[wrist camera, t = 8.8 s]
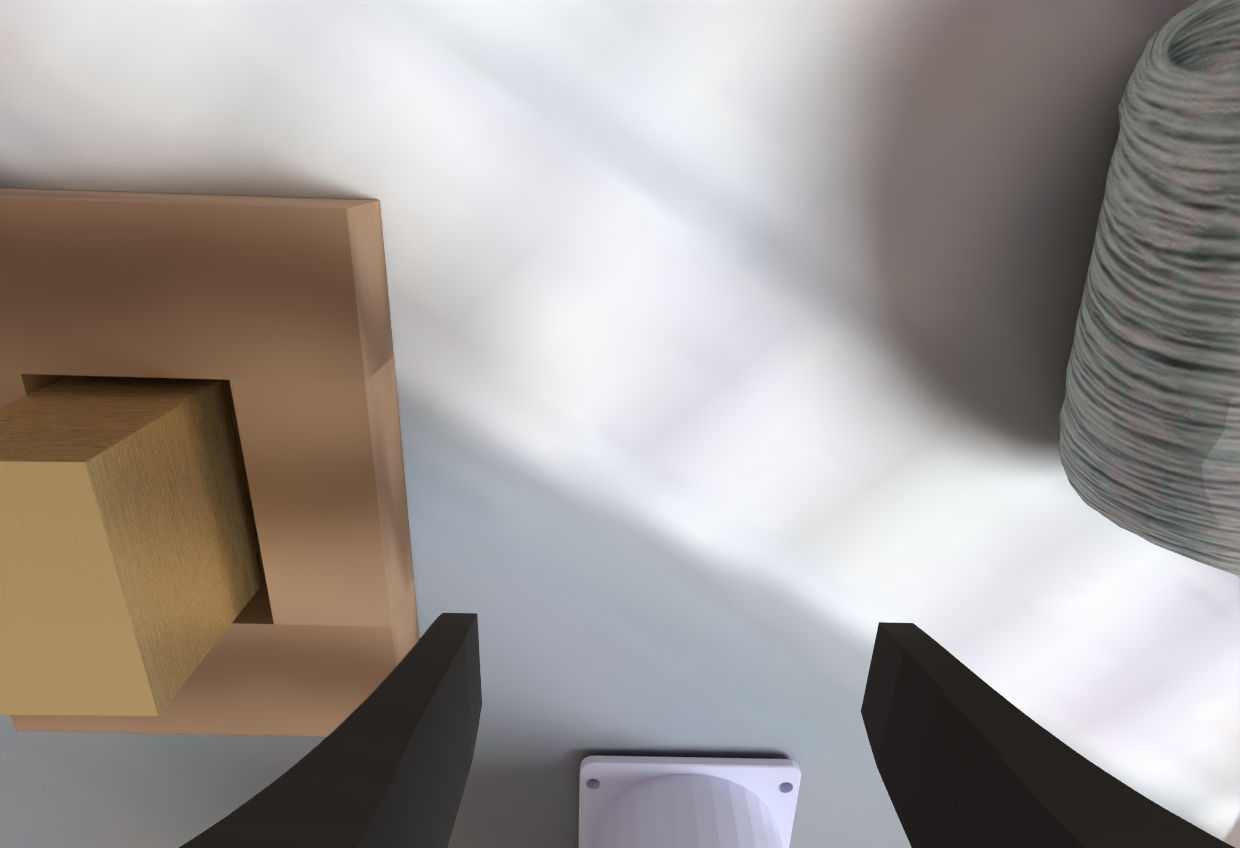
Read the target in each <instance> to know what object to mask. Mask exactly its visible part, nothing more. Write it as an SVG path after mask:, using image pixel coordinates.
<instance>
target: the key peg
mask: <svg viewBox="0 0 1240 848" xmlns="http://www.w3.org/2000/svg"><path fill="white" fill-rule="evenodd" d="M265 580H266V578H265V572H264V567H263V561H262V556H261V550H260V545H259V539H258V534H257V528H256V523H255V517H254V512H253V506H252V501H251V495H250V490H249V484H248V479H247V473H246V468H245V462H244V457H243V451H242V446H241V440H240V435H239V429H238V424H237V418H236V413H235V407H234V402H233V396H232V391H231V385H230V380H223V379H187V378H150V377H114V376H78V375H72V376H70V377H67V378H65V379H63V380H61V381H58V382H56V383H54V384H51V385H49V386H47V387H44V388H42V389H40V390H38V391H35V392H33V393H31V394H28V395H26V396H24V397H21V398H19V399H17V400H15V401H12V402H10V403H8V404H5V405H3V406H1V407H0V715H100V716H159V714H160V713H161V712H162V710H163V709H164V708H165V707H166V705H167V704H168V703H169V702H170V700H171V699H172V698H173V697H174V695H175V694H176V693H177V692H178V690H179V689H180V688H181V686H182V685H183V684H184V683H185V681H186V680H187V679H188V678H189V676H190V675H191V674H192V673H193V671H194V670H195V669H196V668H197V666H198V665H199V664H200V662H201V661H202V660H203V659H204V657H205V656H206V655H207V654H208V652H209V651H210V650H211V649H212V647H213V646H214V645H215V644H216V642H217V641H218V640H219V638H220V637H221V636H222V635H223V633H224V632H225V631H226V630H227V628H228V627H229V626H230V625H231V623H232V622H233V621H234V620H235V618H236V617H237V616H238V615H239V613H240V612H241V611H242V609H243V608H244V607H245V606H246V604H247V603H248V602H249V601H250V599H251V598H252V597H253V596H254V594H255V593H256V592H257V591H258V589H259V588H260V587H261V585H262V584H263V583H264V582H265Z"/></svg>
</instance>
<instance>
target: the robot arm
mask: <svg viewBox="0 0 1240 848" xmlns="http://www.w3.org/2000/svg"><path fill="white" fill-rule="evenodd" d="M481 706H482V697H481V677H480V658H479V639H478V620H477V614H471V613H442V614H441V615H440V616H439V617H438V618H437V619H436V620H435V621H434V622H433V624H432V625H431V626H430V627H429V628H428V630H427V631H426V632H425V633H424V635H423V636H422V637H421V638H420V639H419V641H418V642H417V643H416V644H415V645H414V647H413V648H412V649H411V650H410V651H409V652H408V654H407V655H406V656H405V657H404V658H403V659H402V660H401V662H400V663H399V664H398V665H397V666H396V667H395V668H394V669H393V670H392V672H391V673H390V674H389V675H388V676H387V677H386V678H385V679H384V680H383V681H382V682H381V684H380V685H379V686H378V687H377V688H376V689H375V690H374V691H373V692H372V693H371V694H370V695H369V696H368V697H367V699H366V700H365V701H364V702H362V703H361V704H360V705H359V706H358V707H357V708H356V709H355V710H354V711H353V712H352V713H351V714H350V715H349V716H348V717H347V718H346V719H345V720H344V721H343V722H342V723H341V724H340V725H339V726H338V727H337V728H336V729H335V730H334V731H333V732H332V733H331V734H330V735H329V736H327V737H326V738H325V739H324V740H323V741H322V742H321V743H320V744H319V745H318V746H316V747H315V748H314V749H313V750H312V751H311V752H310V753H308V754H307V755H306V756H305V757H304V758H302V759H301V760H300V761H299V762H298V763H297V764H295V765H294V766H293V767H292V768H291V769H289V770H288V771H287V772H286V773H284V774H283V775H282V776H281V777H279V778H278V779H277V780H276V781H274V782H273V783H272V784H270V785H269V786H268V787H266V788H265V789H264V790H262V791H261V792H260V793H258V794H257V795H255V796H254V797H253V798H251V799H250V800H249V801H247V802H246V803H244V804H243V805H242V806H240V807H239V808H238V809H236V810H235V811H234V812H232V813H231V814H229V815H228V816H227V817H225V818H224V819H222V820H221V821H219V822H218V823H216V824H215V825H213V826H212V827H210V828H209V829H207V830H206V831H204V832H203V833H201V834H200V835H198V836H197V837H195V838H194V839H192V840H190V841H189V842H187V843H186V844H184V845H182V846H181V847H179V848H447V845H448V842H449V839H450V835H451V832H452V828H453V825H454V822H455V818H456V815H457V811H458V808H459V805H460V801H461V798H462V794H463V791H464V787H465V784H466V780H467V777H468V773H469V770H470V766H471V763H472V759H473V753H474V748H475V742H476V736H477V731H478V725H479V718H480V712H481ZM861 713H862V717H863V720H864V724H865V728H866V731H867V735H868V739H869V742H870V745H871V749H872V752H873V755H874V758H875V762H876V765H877V768H878V770H879V773H880V775H881V777H882V780H883V782H884V785H885V787H886V789H887V792H888V794H889V796H890V799H891V801H892V803H893V806H894V808H895V810H896V813H897V815H898V817H899V819H900V822H901V824H902V826H903V828H904V831H905V833H906V835H907V838H908V840H909V842H910V844H911V847H912V848H1235V847H1233V846H1231V845H1229V844H1227V843H1225V842H1223V841H1221V840H1219V839H1218V838H1216V837H1214V836H1212V835H1210V834H1209V833H1207V832H1205V831H1203V830H1201V829H1200V828H1198V827H1196V826H1194V825H1193V824H1191V823H1189V822H1187V821H1186V820H1184V819H1182V818H1180V817H1179V816H1177V815H1175V814H1173V813H1171V812H1170V811H1168V810H1166V809H1164V808H1163V807H1161V806H1159V805H1158V804H1156V803H1154V802H1153V801H1151V800H1149V799H1148V798H1146V797H1144V796H1143V795H1141V794H1140V793H1138V792H1136V791H1135V790H1133V789H1132V788H1130V787H1129V786H1127V785H1125V784H1124V783H1122V782H1121V781H1119V780H1118V779H1116V778H1115V777H1113V776H1112V775H1110V774H1108V773H1107V772H1105V771H1104V770H1102V769H1101V768H1099V767H1098V766H1096V765H1095V764H1093V763H1092V762H1090V761H1089V760H1087V759H1086V758H1084V757H1083V756H1081V755H1080V754H1078V753H1077V752H1076V751H1074V750H1073V749H1071V748H1070V747H1069V746H1067V745H1066V744H1064V743H1063V742H1062V741H1060V740H1059V739H1058V738H1056V737H1055V736H1054V735H1052V734H1051V733H1049V732H1048V731H1047V730H1045V729H1044V728H1043V727H1041V726H1040V725H1039V724H1037V723H1036V722H1035V721H1033V720H1032V719H1031V718H1029V717H1028V716H1027V715H1025V714H1024V713H1023V712H1022V711H1020V710H1019V709H1018V708H1016V707H1015V706H1014V705H1013V704H1011V703H1010V702H1009V701H1008V700H1006V699H1005V698H1004V697H1003V696H1001V695H1000V694H999V693H998V692H996V691H995V690H994V689H993V688H991V687H990V686H989V685H988V684H986V683H985V682H984V681H983V680H982V679H980V678H979V677H978V676H977V675H976V674H974V673H973V672H972V671H971V670H970V669H968V668H967V667H966V666H965V665H964V664H962V663H961V662H960V661H959V660H958V659H956V658H955V657H954V656H953V655H952V654H950V653H949V652H948V651H947V650H946V649H944V648H943V647H942V646H941V645H940V644H938V643H937V642H936V641H935V640H934V639H932V638H931V637H930V636H929V635H927V634H926V633H925V632H924V631H922V630H921V629H920V628H918V627H917V626H916V625H915V624H913V623H880V622H879V625H878V630H877V635H876V640H875V645H874V650H873V655H872V660H871V665H870V670H869V674H868V679H867V684H866V689H865V694H864V699H863V704H862V709H861ZM590 779H597V780H594V781H593V780H590ZM800 779H801V773H800V769H799V766H798V764H797V763H796V762H795V761H793V760H789V759H755V758H700V757H646V756H588V757H586V758H584V759H583V760H582V761H581V764H580V785H579V848H789V843H790V837H791V832H792V826H793V820H794V814H795V808H796V802H797V796H798V790H799V784H800ZM785 782H787V783H785ZM782 783H785V784H782Z"/></svg>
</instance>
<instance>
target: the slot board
mask: <svg viewBox="0 0 1240 848" xmlns="http://www.w3.org/2000/svg"><path fill="white" fill-rule="evenodd" d="M72 375H78V376H114V377H150V378H187V379H223V380H230V385H231V391H232V396H233V402H234V407H235V413H236V418H237V424H238V429H239V435H240V440H241V446H242V451H243V457H244V462H245V468H246V473H247V479H248V484H249V490H250V495H251V501H252V506H253V512H254V517H255V523H256V528H257V534H258V539H259V545H260V550H261V556H262V561H263V567H264V572H265V578H266V580H265V582H264V583H263V584H262V585H261V587H260V588H259V589H258V591H257V592H256V593H255V594H254V596H253V597H252V598H251V599H250V601H249V602H248V603H247V604H246V606H245V607H244V608H243V609H242V611H241V612H240V613H239V615H238V616H237V617H236V618H235V620H234V621H233V622H232V623H231V625H230V626H229V627H228V628H227V630H226V631H225V632H224V633H223V635H222V636H221V637H220V638H219V640H218V641H217V642H216V644H215V645H214V646H213V647H212V649H211V650H210V651H209V652H208V654H207V655H206V656H205V657H204V659H203V660H202V661H201V662H200V664H199V665H198V666H197V668H196V669H195V670H194V671H193V673H192V674H191V675H190V676H189V678H188V679H187V680H186V681H185V683H184V684H183V685H182V686H181V688H180V689H179V690H178V692H177V693H176V694H175V695H174V697H173V698H172V699H171V700H170V702H169V703H168V704H167V705H166V707H165V708H164V709H163V710H162V712H161V713H160V714H159V716H100V715H11V718H12V721H13V723H14V726H15V729H16V731H67V732H120V733H174V734H227V735H280V736H329V735H330V734H331V733H332V732H333V731H334V730H335V729H336V728H337V727H338V726H339V725H340V724H341V723H342V722H343V721H344V720H345V719H346V718H347V717H348V716H349V715H350V714H351V713H352V712H353V711H354V710H355V709H356V708H357V707H358V706H359V705H360V704H361V703H362V702H364V701H365V700H366V699H367V697H368V696H369V695H370V694H371V693H372V692H373V691H374V690H375V689H376V688H377V687H378V686H379V685H380V684H381V682H382V681H383V680H384V679H385V678H386V677H387V676H388V675H389V674H390V673H391V672H392V670H393V669H394V668H395V667H396V666H397V665H398V664H399V663H400V662H401V660H402V659H403V658H404V657H405V656H406V655H407V654H408V652H409V651H410V650H411V649H412V648H413V647H414V645H415V644H416V643H417V642H418V641H419V631H418V620H417V609H416V598H415V587H414V576H413V565H412V554H411V543H410V532H409V520H408V509H407V498H406V487H405V476H404V465H403V454H402V443H401V432H400V421H399V410H398V399H397V387H396V376H395V365H394V354H393V343H392V332H391V321H390V310H389V299H388V288H387V277H386V266H385V254H384V243H383V232H382V221H381V210H380V200H360V199H329V198H298V197H267V196H236V195H205V194H174V193H143V192H112V191H81V190H50V189H19V188H0V407H1V406H3V405H5V404H8V403H10V402H12V401H15V400H17V399H19V398H21V397H24V396H26V395H28V394H31V393H33V392H35V391H38V390H40V389H42V388H44V387H47V386H49V385H51V384H54V383H56V382H58V381H61V380H63V379H65V378H67V377H70V376H72Z"/></svg>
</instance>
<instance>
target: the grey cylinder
mask: <svg viewBox="0 0 1240 848" xmlns="http://www.w3.org/2000/svg"><path fill="white" fill-rule="evenodd" d="M1118 108H1119V121H1120V131H1119V135H1118V140H1117V144H1116V146H1115V149H1114V152H1113V155H1112V158H1111V162H1110V166H1109V170H1108V174H1107V179H1106V186H1105V193H1104V199H1103V203H1102V206H1101V210H1100V214H1099V218H1098V224H1097V229H1096V235H1095V240H1094V245H1093V250H1092V255H1091V259H1090V264H1089V268H1088V273H1087V277H1086V282H1085V287H1084V292H1083V296H1082V301H1081V305H1080V309H1079V313H1078V317H1077V322H1076V329H1075V335H1074V340H1073V345H1072V350H1071V354H1070V358H1069V362H1068V366H1067V373H1066V385H1065V399H1064V402H1063V405H1062V408H1061V411H1060V414H1059V422H1060V446H1059V452H1060V457H1061V462H1062V465H1063V467H1064V470H1065V472H1066V475H1067V477H1068V480H1069V482H1070V484H1071V485H1072V487H1073V488H1074V489H1075V491H1076V492H1077V493H1078V494H1079V496H1080V497H1081V498H1082V500H1083V501H1084V502H1085V503H1086V504H1087V505H1089V506H1090V507H1092V508H1093V509H1095V510H1096V511H1098V512H1099V513H1101V514H1102V515H1103V516H1105V517H1106V518H1108V519H1109V520H1111V521H1112V522H1113V523H1115V524H1116V525H1118V526H1119V527H1121V528H1124V529H1126V530H1128V531H1130V532H1132V533H1135V534H1137V535H1139V536H1140V537H1142V538H1144V539H1146V540H1147V541H1149V542H1151V543H1153V544H1155V545H1158V546H1160V547H1162V548H1165V549H1167V550H1170V551H1172V552H1175V553H1178V554H1180V555H1183V556H1185V557H1188V558H1191V559H1193V560H1196V561H1198V562H1201V563H1204V564H1207V565H1210V566H1212V567H1215V568H1218V569H1221V570H1224V571H1227V572H1229V573H1232V574H1235V575H1237V576H1239V577H1240V0H1198V1H1197V2H1195V3H1193V4H1192V5H1190V6H1189V7H1187V8H1185V9H1184V10H1182V11H1180V12H1179V13H1177V14H1176V15H1174V16H1172V17H1171V18H1170V19H1169V20H1168V21H1166V22H1165V23H1164V24H1163V25H1162V26H1161V27H1160V28H1159V29H1158V30H1157V31H1156V32H1155V33H1154V34H1153V35H1152V36H1151V37H1150V38H1149V39H1148V42H1147V44H1146V46H1145V49H1144V51H1143V53H1142V56H1141V57H1140V59H1139V60H1138V62H1137V64H1136V66H1135V68H1134V70H1133V72H1132V74H1131V77H1130V79H1129V81H1128V83H1127V85H1126V88H1125V91H1124V93H1123V96H1122V99H1121V102H1120V104H1119V107H1118Z"/></svg>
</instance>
